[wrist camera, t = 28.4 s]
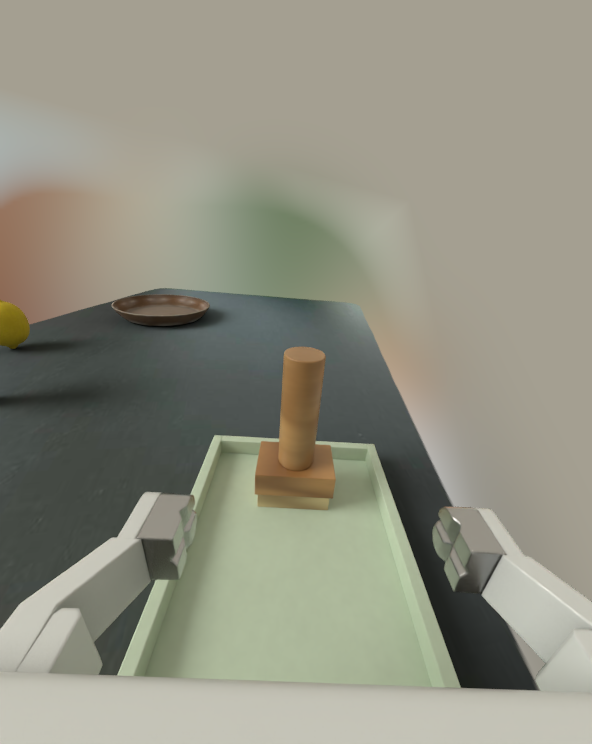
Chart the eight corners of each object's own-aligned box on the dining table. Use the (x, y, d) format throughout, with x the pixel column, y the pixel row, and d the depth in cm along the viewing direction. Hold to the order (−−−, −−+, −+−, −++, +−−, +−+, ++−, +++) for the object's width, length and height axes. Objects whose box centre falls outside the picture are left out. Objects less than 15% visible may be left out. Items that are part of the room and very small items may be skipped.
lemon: (44, 344, 52) (30, 297, 48) (12, 356, 47) (-6, 304, 43) (14, 341, 52) (-2, 294, 49) (-20, 352, 47) (-41, 301, 44)
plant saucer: (224, 312, 79) (224, 299, 77) (177, 335, 60) (175, 319, 59) (155, 303, 83) (153, 290, 81) (91, 321, 64) (87, 306, 63)
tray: (370, 460, 31) (373, 444, 30) (540, 995, 9) (571, 992, 8) (215, 451, 30) (214, 434, 29) (15, 989, 9) (-10, 985, 8)
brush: (326, 475, 27) (345, 346, 22) (330, 513, 24) (354, 368, 19) (260, 471, 27) (263, 340, 22) (254, 508, 24) (256, 362, 18)
